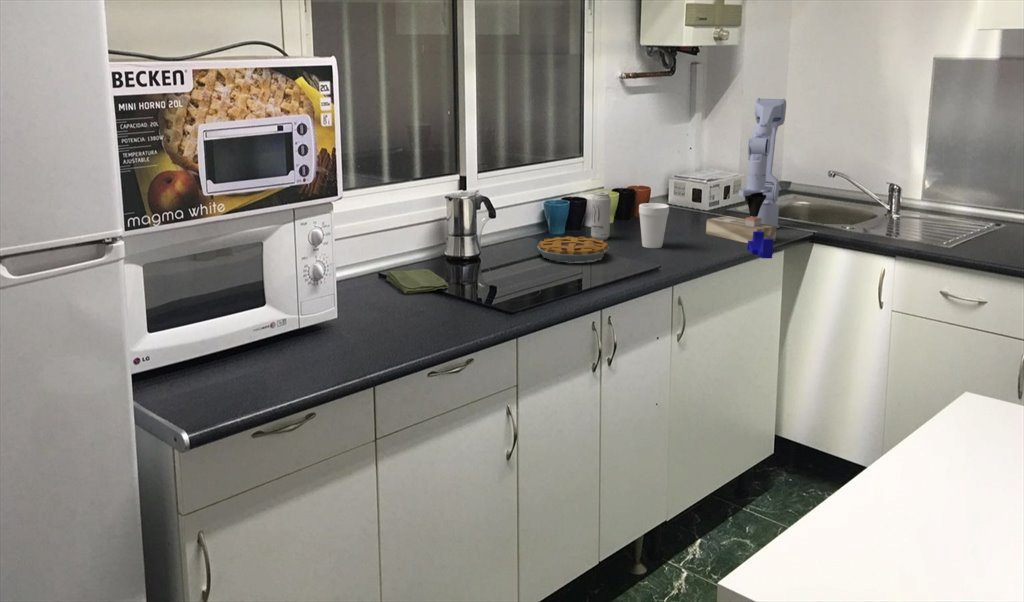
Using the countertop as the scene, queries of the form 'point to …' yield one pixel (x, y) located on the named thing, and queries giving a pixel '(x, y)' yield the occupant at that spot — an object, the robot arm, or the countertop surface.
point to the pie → (572, 248)
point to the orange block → (753, 221)
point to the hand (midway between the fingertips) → (753, 216)
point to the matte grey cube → (729, 220)
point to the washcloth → (416, 281)
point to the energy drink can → (600, 216)
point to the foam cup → (653, 223)
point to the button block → (737, 229)
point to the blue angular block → (760, 245)
